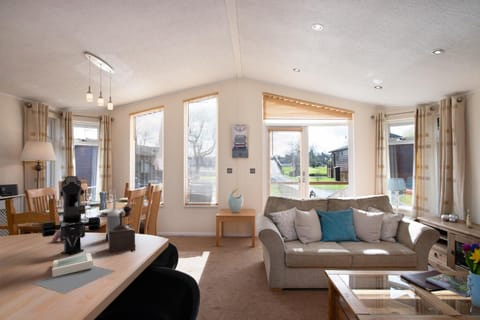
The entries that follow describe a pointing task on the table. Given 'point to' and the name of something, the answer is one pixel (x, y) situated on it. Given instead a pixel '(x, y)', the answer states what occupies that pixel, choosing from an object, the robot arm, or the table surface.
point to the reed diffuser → (113, 217)
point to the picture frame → (72, 264)
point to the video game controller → (57, 236)
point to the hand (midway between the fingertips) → (72, 246)
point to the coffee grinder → (122, 235)
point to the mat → (73, 279)
